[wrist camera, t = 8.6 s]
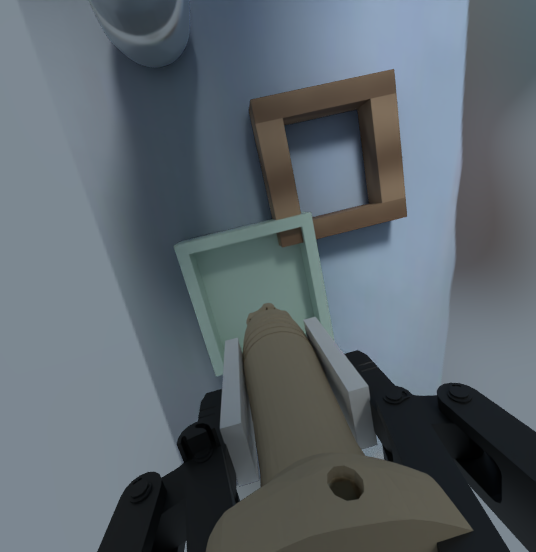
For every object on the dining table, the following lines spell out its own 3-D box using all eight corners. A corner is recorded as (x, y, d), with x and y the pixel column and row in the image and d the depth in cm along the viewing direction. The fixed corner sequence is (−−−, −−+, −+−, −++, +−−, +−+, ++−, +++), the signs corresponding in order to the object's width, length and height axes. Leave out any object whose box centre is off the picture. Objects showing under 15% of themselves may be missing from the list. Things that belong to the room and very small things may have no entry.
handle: (309, 347, 21) (477, 653, 7) (225, 354, 20) (207, 717, 6) (310, 288, 20) (517, 500, 5) (221, 293, 19) (185, 554, 5)
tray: (180, 241, 26) (173, 245, 23) (302, 211, 26) (311, 212, 23) (217, 359, 29) (216, 376, 26) (324, 330, 30) (335, 343, 27)
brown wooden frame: (248, 110, 24) (250, 99, 21) (378, 82, 24) (394, 69, 22) (278, 244, 27) (282, 247, 24) (391, 215, 28) (407, 216, 25)
